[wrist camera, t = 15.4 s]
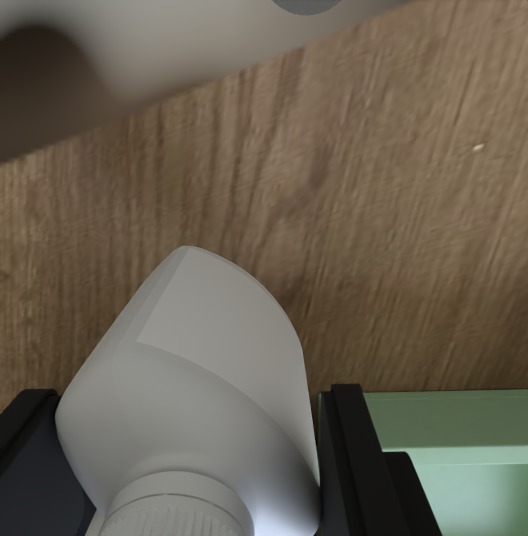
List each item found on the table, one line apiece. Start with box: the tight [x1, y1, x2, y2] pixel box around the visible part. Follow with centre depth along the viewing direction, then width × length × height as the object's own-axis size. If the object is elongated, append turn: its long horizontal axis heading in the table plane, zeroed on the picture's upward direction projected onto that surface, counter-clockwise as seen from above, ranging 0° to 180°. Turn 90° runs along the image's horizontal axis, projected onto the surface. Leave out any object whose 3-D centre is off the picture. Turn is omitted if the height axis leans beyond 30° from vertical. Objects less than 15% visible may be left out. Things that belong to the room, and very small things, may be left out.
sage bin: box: [317, 389, 528, 536], centre depth 20 cm, size 11×11×4 cm
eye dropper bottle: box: [55, 246, 321, 536], centre depth 10 cm, size 4×6×12 cm
